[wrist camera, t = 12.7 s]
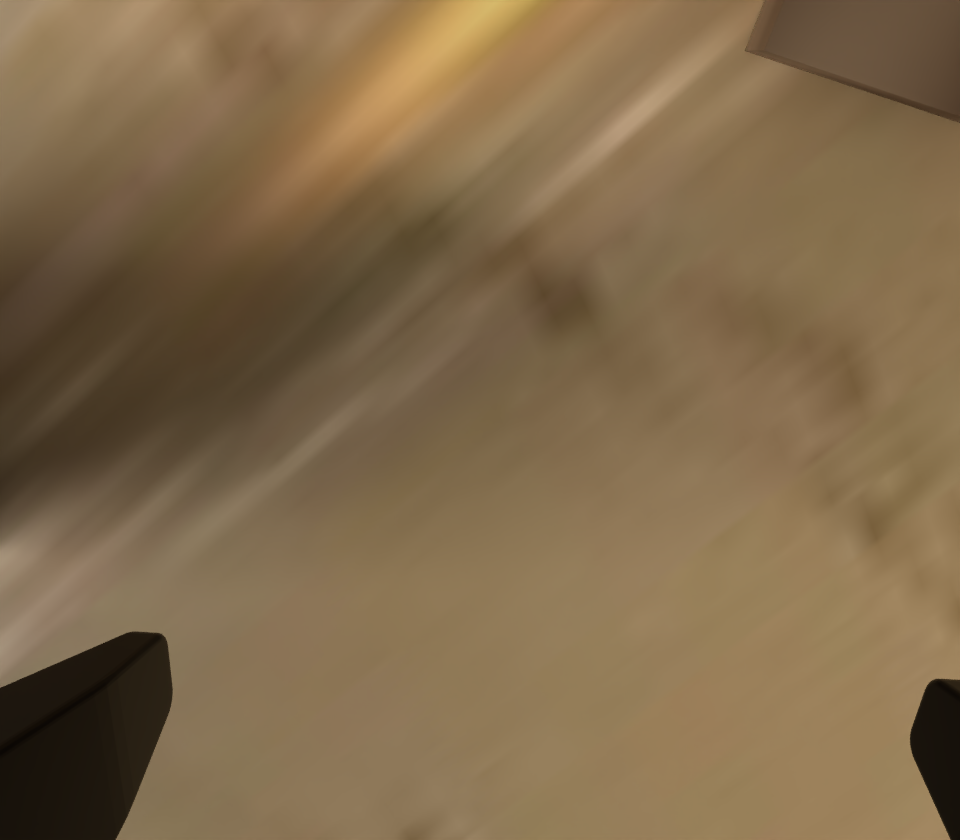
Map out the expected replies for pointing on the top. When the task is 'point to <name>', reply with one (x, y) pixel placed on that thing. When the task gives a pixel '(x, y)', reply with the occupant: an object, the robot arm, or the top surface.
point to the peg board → (870, 46)
